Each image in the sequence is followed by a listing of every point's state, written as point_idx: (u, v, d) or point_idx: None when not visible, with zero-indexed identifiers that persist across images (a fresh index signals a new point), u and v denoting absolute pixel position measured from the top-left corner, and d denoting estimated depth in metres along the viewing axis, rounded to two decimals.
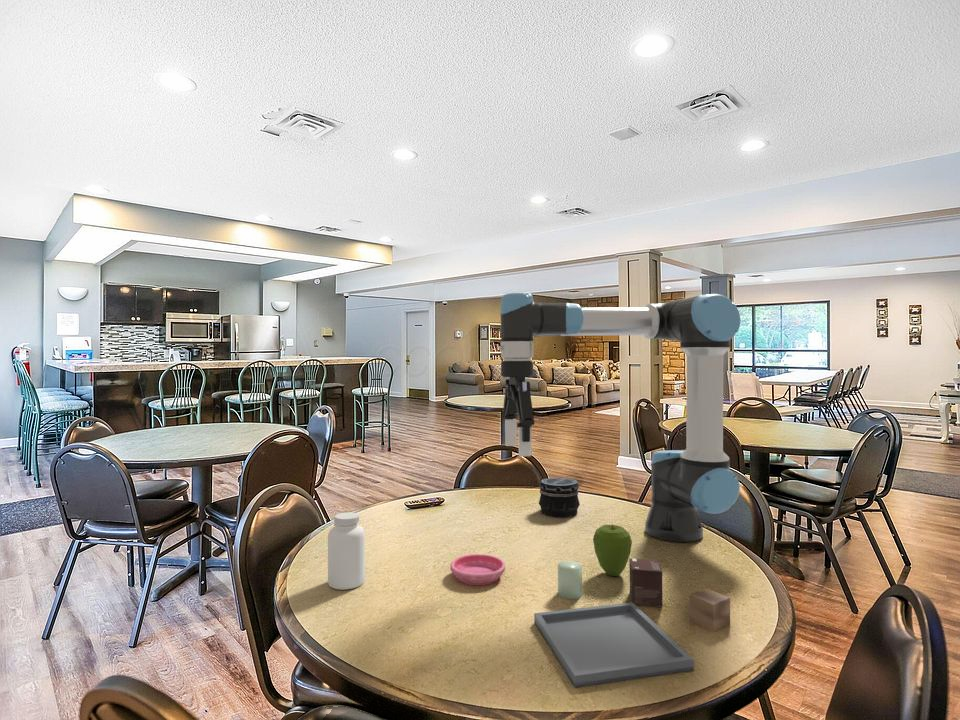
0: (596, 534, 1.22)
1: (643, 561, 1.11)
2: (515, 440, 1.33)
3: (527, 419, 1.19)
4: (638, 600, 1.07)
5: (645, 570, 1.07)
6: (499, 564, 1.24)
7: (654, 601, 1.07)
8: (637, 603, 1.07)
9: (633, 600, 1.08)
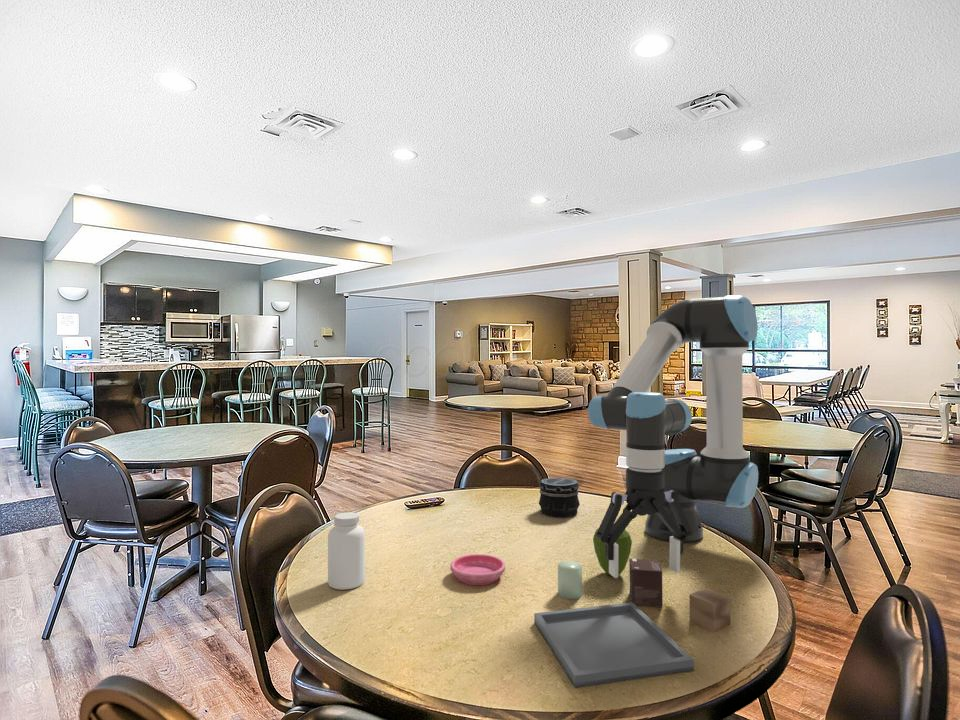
0: None
1: (643, 561, 1.11)
2: (676, 565, 1.10)
3: (611, 535, 1.08)
4: (638, 600, 1.07)
5: (645, 570, 1.07)
6: (499, 564, 1.24)
7: (654, 601, 1.07)
8: (637, 603, 1.07)
9: (633, 600, 1.08)
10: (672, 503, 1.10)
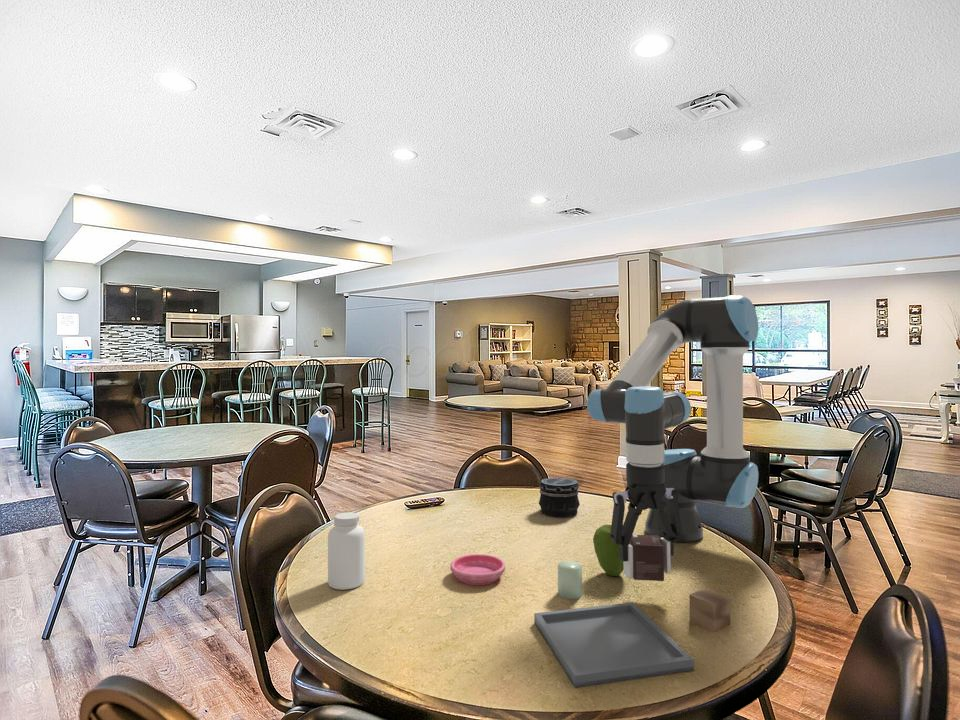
0: (596, 534, 1.22)
1: (644, 537, 1.12)
2: (666, 567, 1.10)
3: (624, 537, 1.09)
4: (640, 574, 1.08)
5: (646, 545, 1.07)
6: (499, 564, 1.24)
7: (655, 576, 1.07)
8: (639, 578, 1.08)
9: (635, 575, 1.08)
10: (670, 500, 1.10)
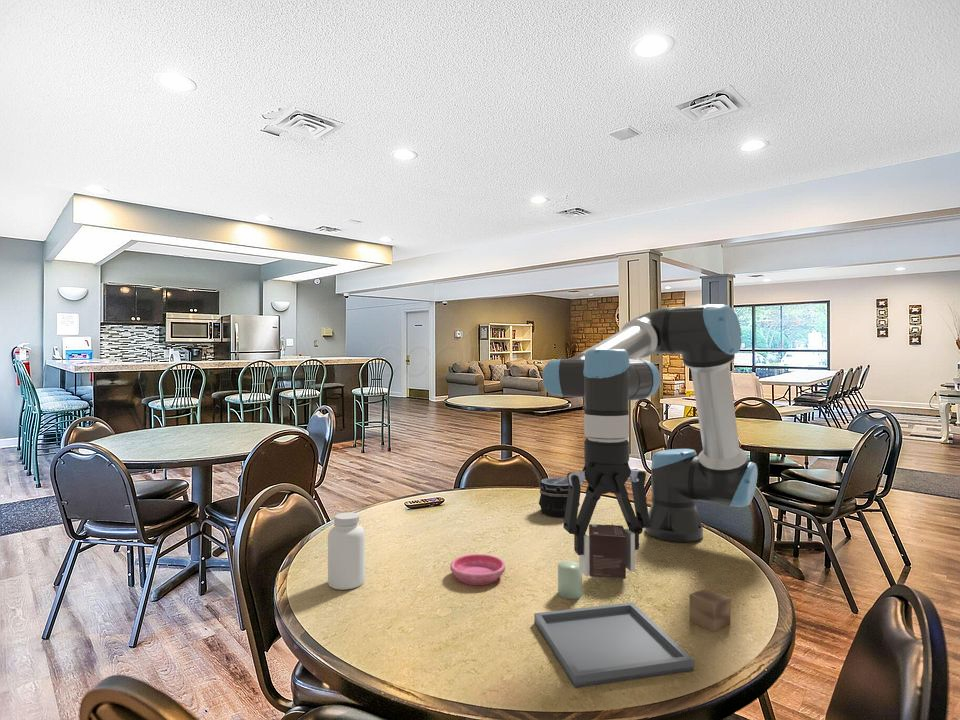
0: None
1: (605, 526, 0.94)
2: (630, 563, 0.93)
3: (579, 526, 0.91)
4: (597, 571, 0.90)
5: (605, 536, 0.90)
6: (499, 564, 1.24)
7: (615, 572, 0.90)
8: (596, 575, 0.90)
9: (591, 571, 0.90)
10: (636, 484, 0.93)
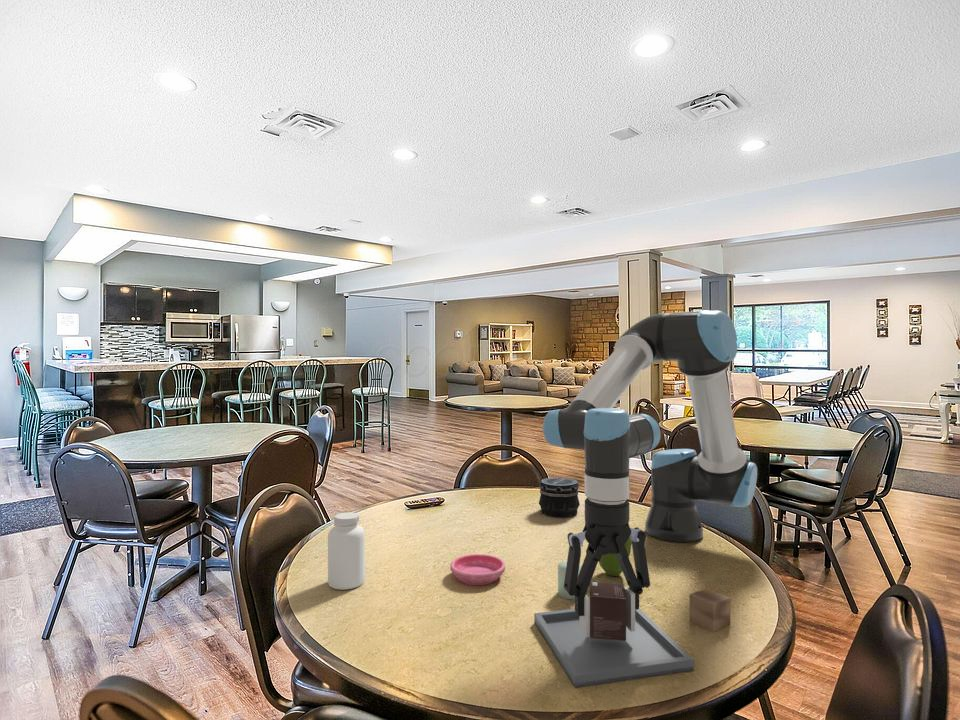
0: None
1: (605, 585, 0.95)
2: (630, 623, 0.93)
3: (579, 587, 0.92)
4: (598, 632, 0.90)
5: (605, 597, 0.90)
6: (499, 564, 1.24)
7: (616, 634, 0.90)
8: (596, 636, 0.90)
9: (592, 633, 0.91)
10: (636, 544, 0.94)
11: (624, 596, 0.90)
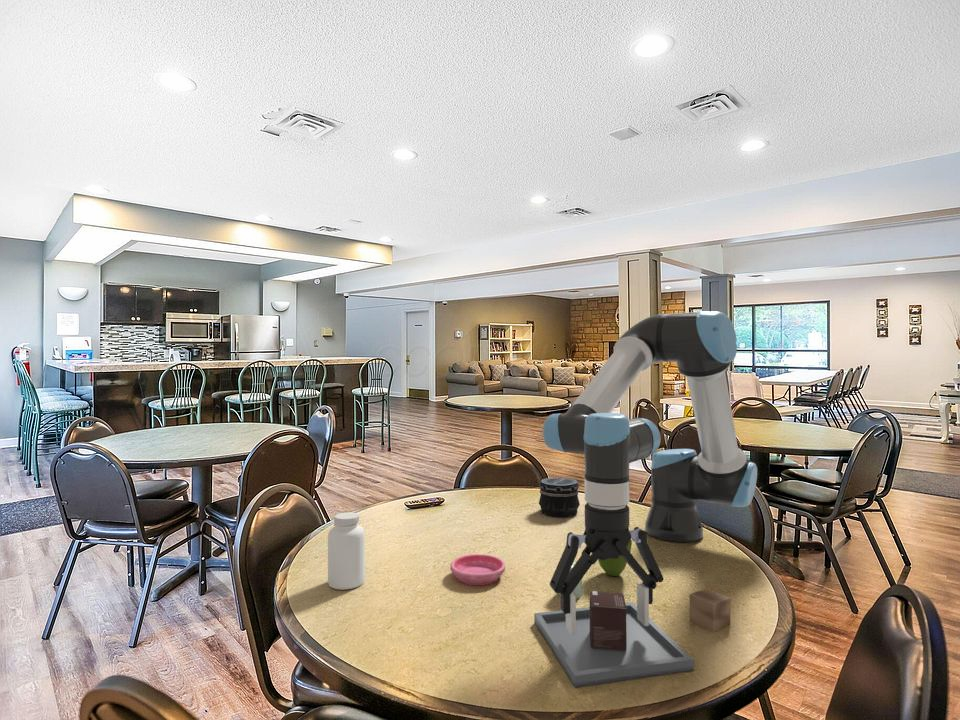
0: None
1: (605, 595, 0.95)
2: (644, 617, 0.93)
3: (567, 584, 0.91)
4: (598, 642, 0.90)
5: (606, 607, 0.90)
6: (499, 564, 1.24)
7: (616, 644, 0.90)
8: (597, 646, 0.91)
9: (592, 643, 0.91)
10: (639, 544, 0.94)
11: (624, 606, 0.91)
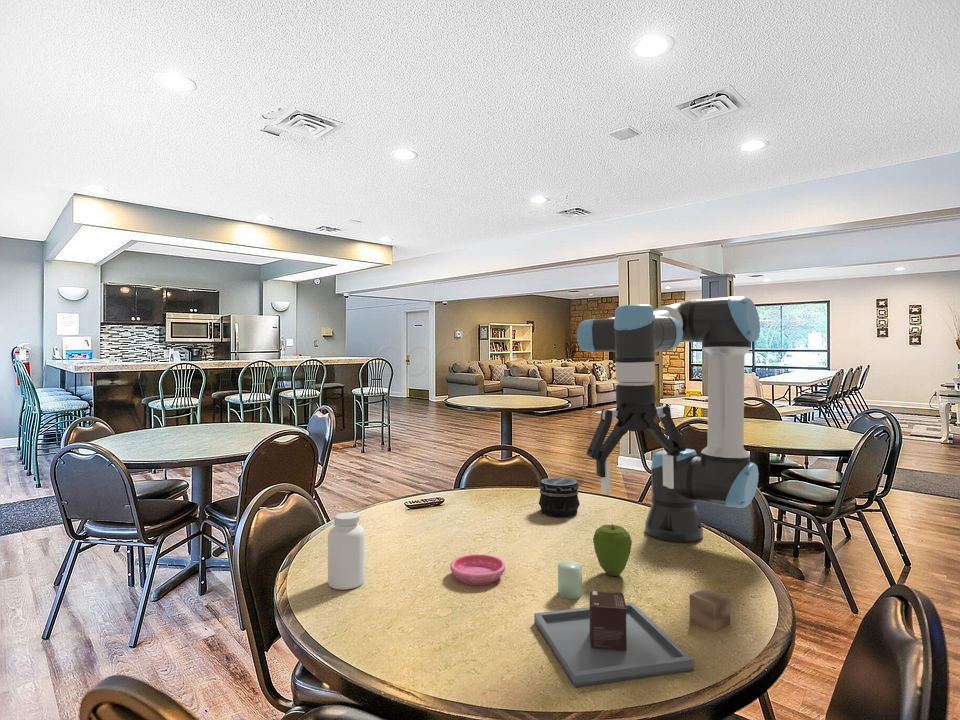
0: (596, 534, 1.22)
1: (605, 595, 0.95)
2: (669, 481, 1.07)
3: (602, 452, 1.05)
4: (598, 642, 0.90)
5: (606, 607, 0.90)
6: (499, 564, 1.24)
7: (616, 644, 0.90)
8: (597, 646, 0.91)
9: (592, 643, 0.91)
10: (664, 418, 1.07)
11: (624, 606, 0.91)
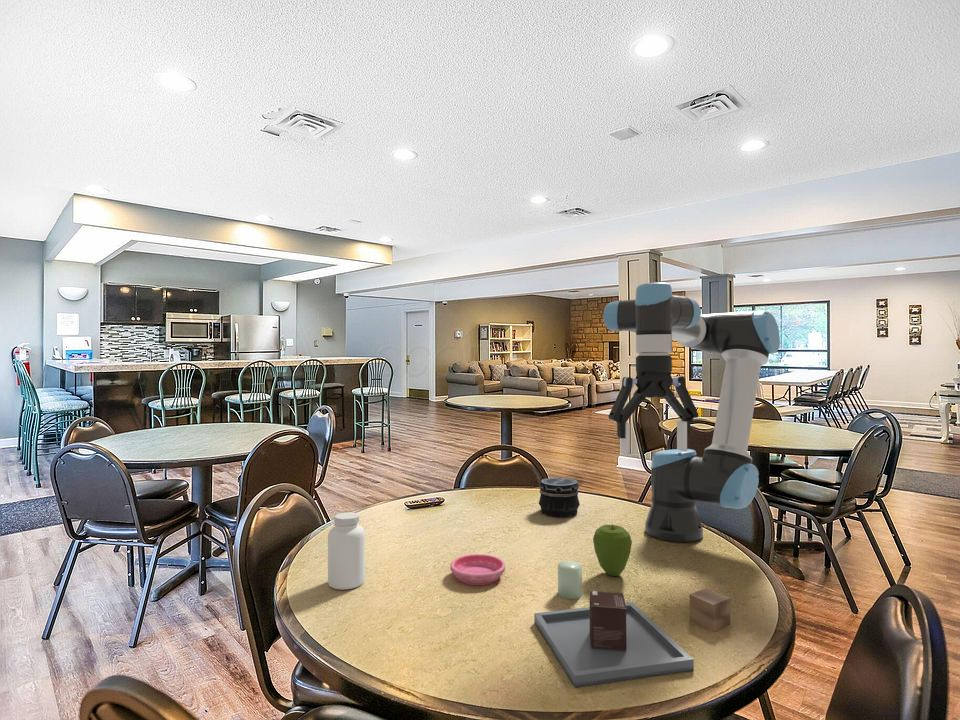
0: (596, 534, 1.22)
1: (605, 595, 0.95)
2: (683, 445, 1.18)
3: (623, 415, 1.16)
4: (598, 642, 0.90)
5: (606, 607, 0.90)
6: (499, 564, 1.24)
7: (616, 644, 0.90)
8: (597, 646, 0.91)
9: (592, 643, 0.91)
10: (679, 387, 1.18)
11: (624, 606, 0.91)
